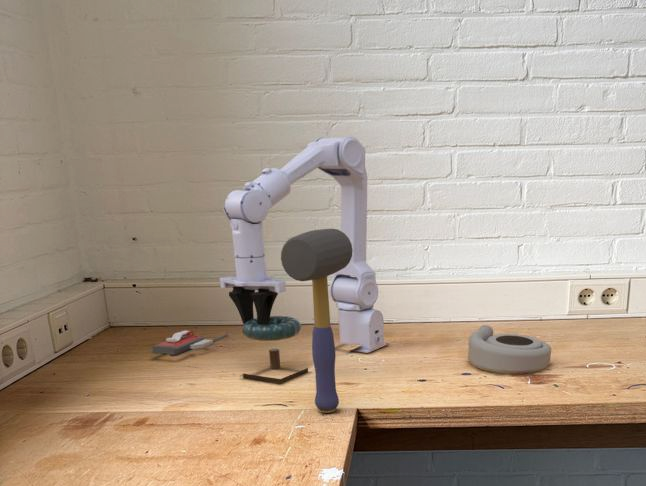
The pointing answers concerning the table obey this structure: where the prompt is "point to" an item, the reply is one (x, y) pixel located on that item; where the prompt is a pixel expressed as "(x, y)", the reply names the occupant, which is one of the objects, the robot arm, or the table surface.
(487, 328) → the turbocharger housing
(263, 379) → the post
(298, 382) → the table surface
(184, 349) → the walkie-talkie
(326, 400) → the rubber mallet
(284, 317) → the hang ring
